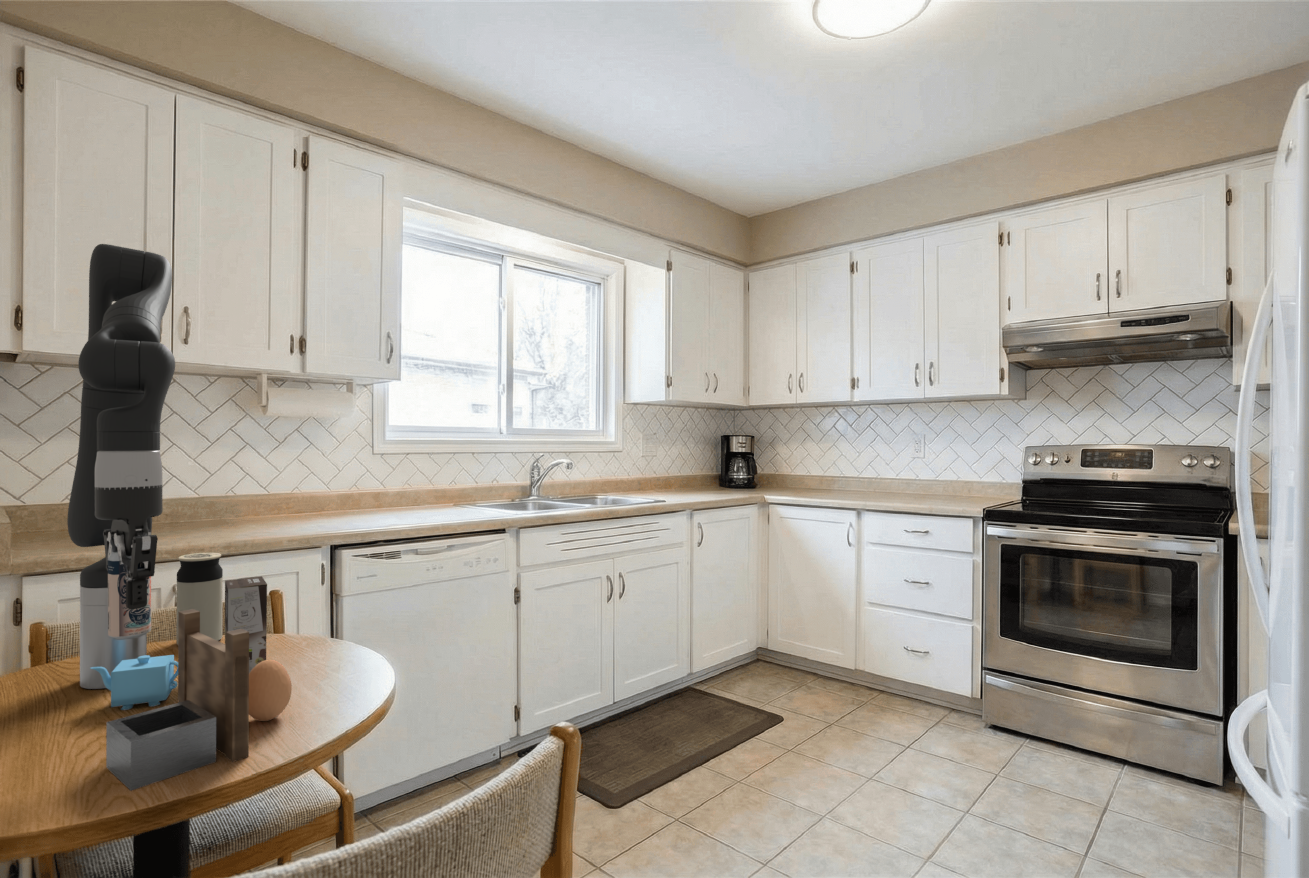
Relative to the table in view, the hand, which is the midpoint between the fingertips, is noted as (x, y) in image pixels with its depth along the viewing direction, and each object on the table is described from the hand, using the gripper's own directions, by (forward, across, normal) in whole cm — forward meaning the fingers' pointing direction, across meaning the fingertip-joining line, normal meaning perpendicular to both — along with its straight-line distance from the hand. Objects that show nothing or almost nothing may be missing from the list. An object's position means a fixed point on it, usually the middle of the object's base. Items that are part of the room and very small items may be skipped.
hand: (129, 604), depth 96 cm
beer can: (+5, 0, 0) cm, 5 cm away
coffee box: (+20, +22, -24) cm, 38 cm away
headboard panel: (+20, -6, -8) cm, 22 cm away
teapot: (+20, +18, -6) cm, 27 cm away
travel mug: (+19, +45, -25) cm, 55 cm away
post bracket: (+20, -10, -1) cm, 22 cm away
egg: (+20, -6, -16) cm, 26 cm away
